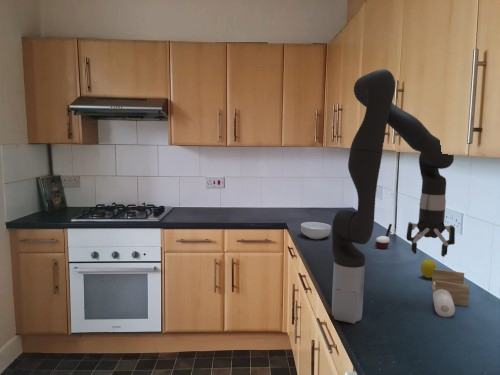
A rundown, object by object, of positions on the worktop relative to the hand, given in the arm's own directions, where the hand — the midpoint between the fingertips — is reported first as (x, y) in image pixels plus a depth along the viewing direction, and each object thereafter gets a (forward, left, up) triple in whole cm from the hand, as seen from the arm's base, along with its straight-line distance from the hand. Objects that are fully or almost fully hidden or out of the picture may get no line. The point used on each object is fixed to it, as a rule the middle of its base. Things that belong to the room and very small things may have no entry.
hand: (428, 254), depth 120 cm
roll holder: (+9, -8, -17) cm, 20 cm away
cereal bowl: (+63, +53, -17) cm, 84 cm away
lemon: (+24, -2, -17) cm, 29 cm away
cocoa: (+59, +17, -17) cm, 63 cm away
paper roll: (-5, -5, -14) cm, 16 cm away
